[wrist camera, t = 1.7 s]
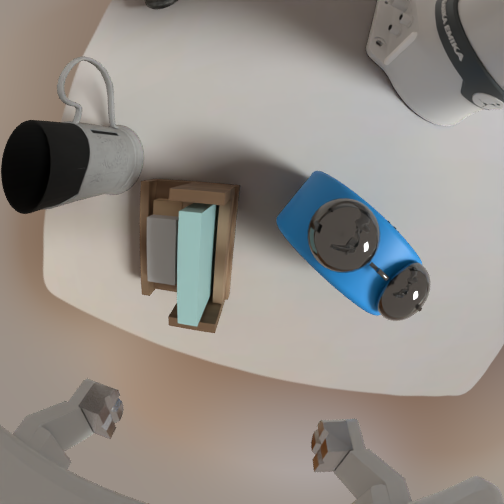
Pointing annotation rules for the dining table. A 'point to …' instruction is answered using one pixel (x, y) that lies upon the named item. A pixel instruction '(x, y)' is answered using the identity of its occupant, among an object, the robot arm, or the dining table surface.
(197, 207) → the panel
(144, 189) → the rack
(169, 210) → the oak offcut
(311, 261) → the alarm clock
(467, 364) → the dining table surface
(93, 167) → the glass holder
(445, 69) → the robot arm
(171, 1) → the dark grey figurine
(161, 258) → the grey offcut
